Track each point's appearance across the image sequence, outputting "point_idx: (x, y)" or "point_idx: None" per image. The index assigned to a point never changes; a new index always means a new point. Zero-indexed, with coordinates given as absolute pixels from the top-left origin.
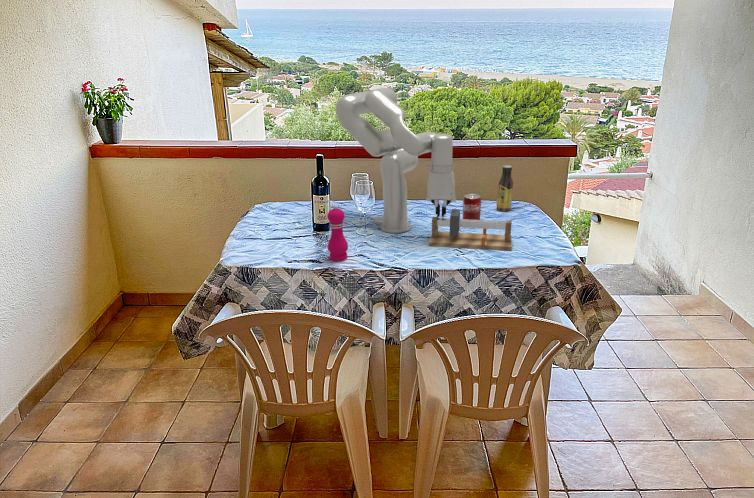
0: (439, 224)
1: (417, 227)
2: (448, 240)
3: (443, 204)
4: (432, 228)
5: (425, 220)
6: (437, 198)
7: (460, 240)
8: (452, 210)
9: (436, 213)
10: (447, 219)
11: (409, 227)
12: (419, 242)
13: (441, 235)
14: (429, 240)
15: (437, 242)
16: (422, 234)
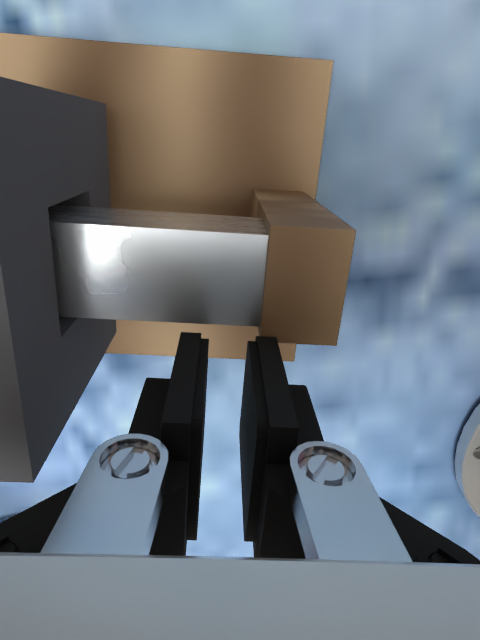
0: (232, 219)
1: (402, 469)
2: (132, 133)
3: (157, 481)
4: (314, 205)
5: None
6: (368, 592)
7: None
8: (13, 427)
9: (291, 386)
10: (115, 273)
11: (478, 429)
12: (407, 155)
13: None
14: (324, 113)
15: (240, 57)
16: (371, 344)
